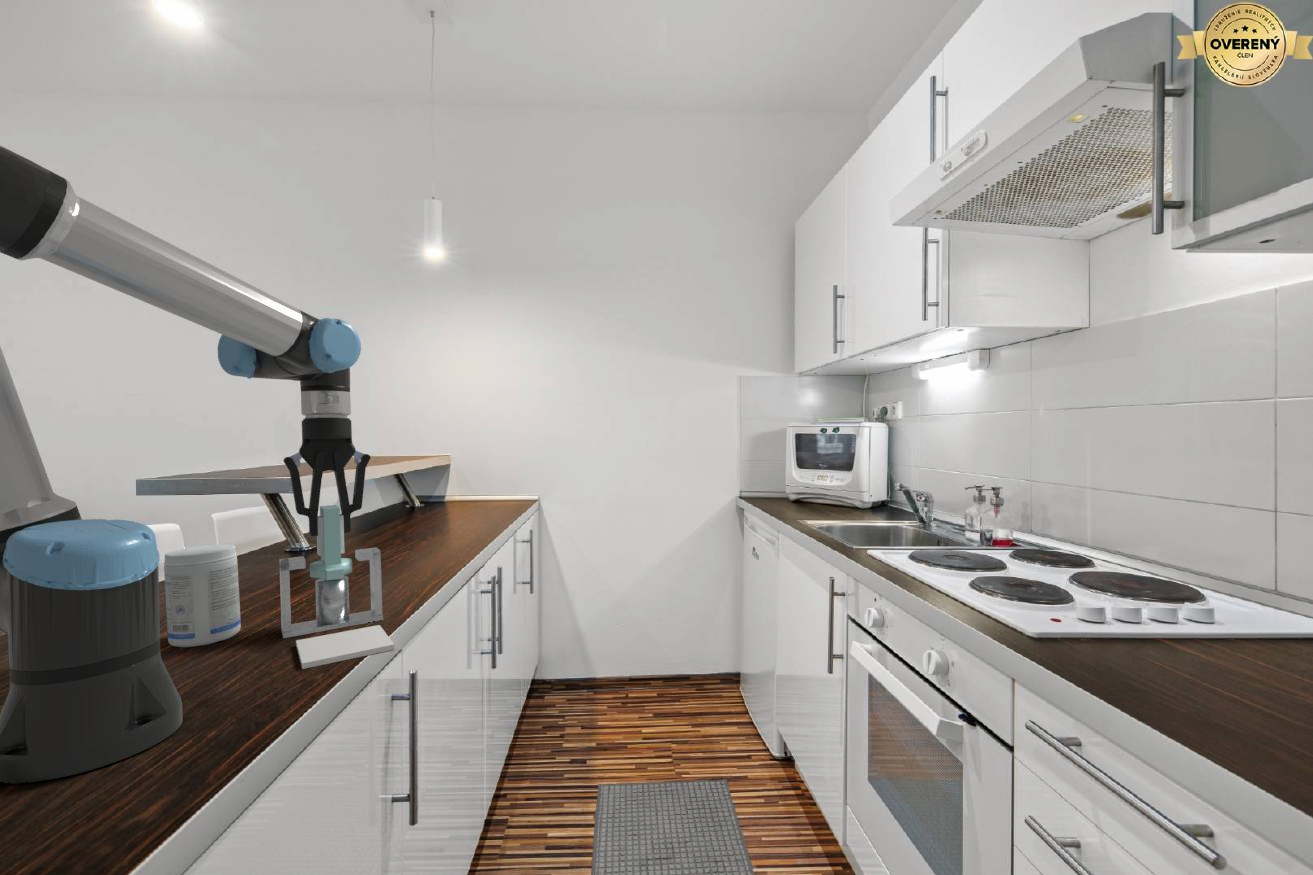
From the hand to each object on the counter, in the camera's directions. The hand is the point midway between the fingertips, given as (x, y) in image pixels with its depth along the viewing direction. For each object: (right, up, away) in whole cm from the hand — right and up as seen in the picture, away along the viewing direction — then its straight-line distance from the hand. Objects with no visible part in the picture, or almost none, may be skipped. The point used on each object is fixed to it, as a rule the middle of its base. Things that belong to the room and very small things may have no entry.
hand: (330, 553), depth 103 cm
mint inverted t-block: (0, -4, 0) cm, 4 cm away
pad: (+8, -12, -11) cm, 19 cm away
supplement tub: (-18, -13, -5) cm, 23 cm away
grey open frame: (0, -12, 0) cm, 13 cm away
